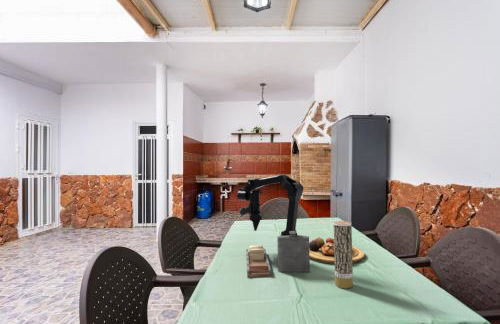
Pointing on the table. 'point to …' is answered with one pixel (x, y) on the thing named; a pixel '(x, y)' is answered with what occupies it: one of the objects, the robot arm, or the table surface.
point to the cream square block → (256, 252)
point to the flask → (293, 253)
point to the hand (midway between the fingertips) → (255, 230)
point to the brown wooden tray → (258, 266)
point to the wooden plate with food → (330, 251)
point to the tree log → (343, 254)
